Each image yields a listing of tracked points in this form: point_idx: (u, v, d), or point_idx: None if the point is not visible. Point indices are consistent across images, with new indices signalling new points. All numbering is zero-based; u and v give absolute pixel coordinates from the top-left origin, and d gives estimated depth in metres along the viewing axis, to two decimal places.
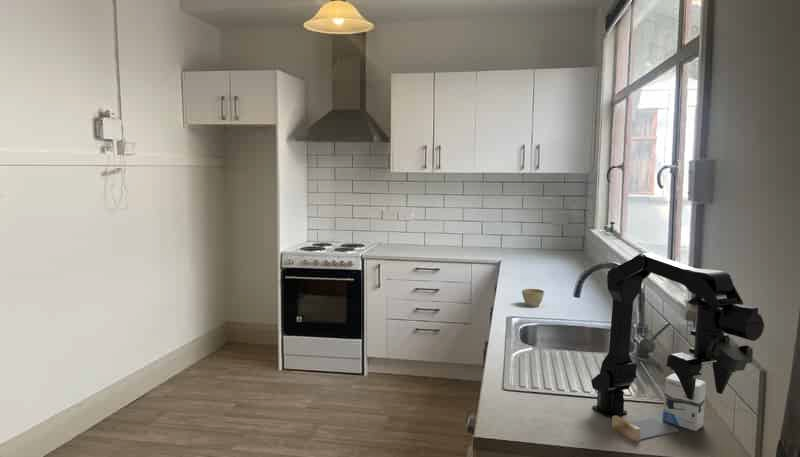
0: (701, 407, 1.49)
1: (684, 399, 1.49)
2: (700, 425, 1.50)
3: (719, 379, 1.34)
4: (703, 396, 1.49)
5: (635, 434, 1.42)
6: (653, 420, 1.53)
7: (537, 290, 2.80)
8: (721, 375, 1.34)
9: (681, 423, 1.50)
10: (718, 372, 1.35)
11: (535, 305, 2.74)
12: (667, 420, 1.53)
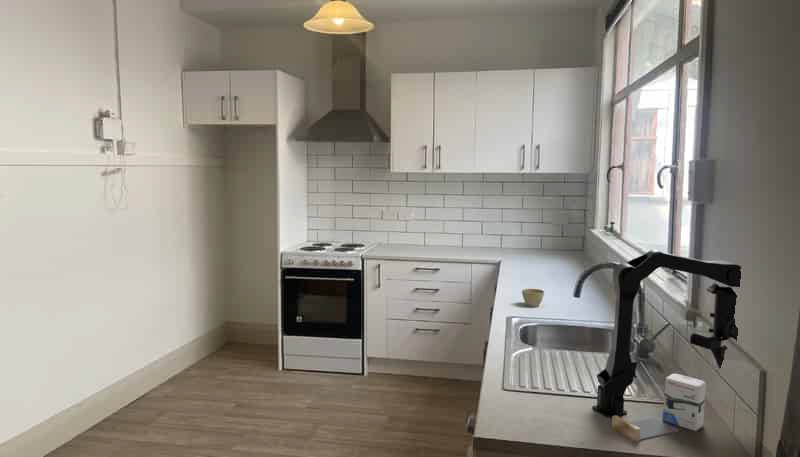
0: (701, 407, 1.49)
1: (684, 399, 1.49)
2: (700, 425, 1.50)
3: None
4: (703, 396, 1.49)
5: (635, 434, 1.42)
6: (653, 420, 1.53)
7: (537, 290, 2.80)
8: None
9: (681, 423, 1.50)
10: None
11: (535, 305, 2.74)
12: (667, 420, 1.53)
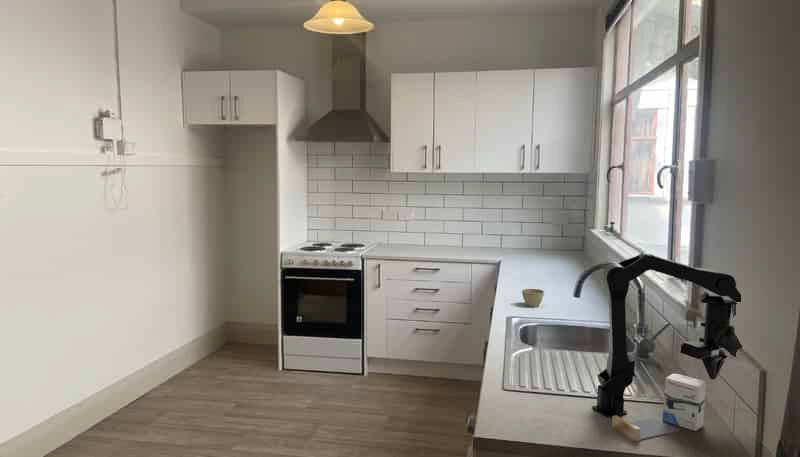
0: (701, 407, 1.49)
1: (684, 399, 1.49)
2: (700, 425, 1.50)
3: None
4: (703, 396, 1.49)
5: (635, 434, 1.42)
6: (653, 420, 1.53)
7: (537, 290, 2.80)
8: None
9: (681, 423, 1.50)
10: None
11: (535, 305, 2.74)
12: (667, 420, 1.53)
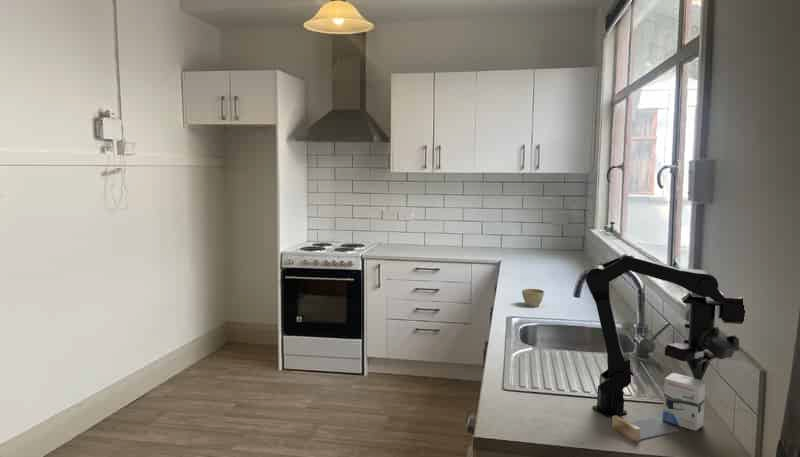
0: (701, 407, 1.49)
1: (683, 399, 1.49)
2: (700, 424, 1.49)
3: None
4: (702, 396, 1.49)
5: (635, 434, 1.42)
6: (653, 420, 1.53)
7: (537, 290, 2.80)
8: None
9: (681, 423, 1.50)
10: None
11: (535, 305, 2.74)
12: (667, 420, 1.53)
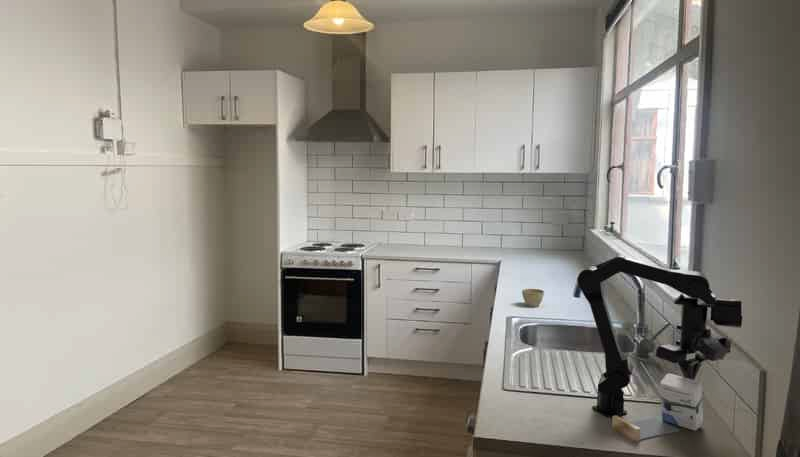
0: (698, 407, 1.47)
1: (680, 403, 1.48)
2: (700, 422, 1.49)
3: None
4: (699, 396, 1.47)
5: (635, 434, 1.42)
6: (653, 420, 1.53)
7: (537, 290, 2.80)
8: None
9: (681, 424, 1.50)
10: None
11: (535, 305, 2.74)
12: (667, 420, 1.53)
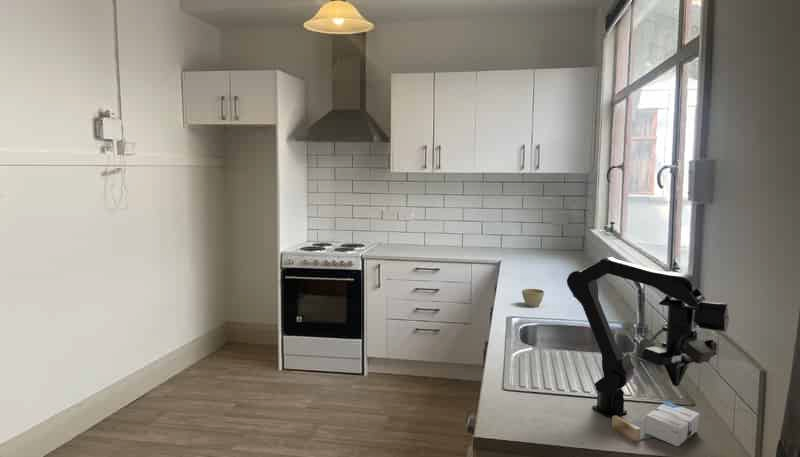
0: (690, 429, 1.43)
1: None
2: (697, 422, 1.46)
3: None
4: (686, 429, 1.41)
5: (635, 434, 1.42)
6: None
7: (537, 290, 2.80)
8: None
9: None
10: None
11: (535, 305, 2.74)
12: None
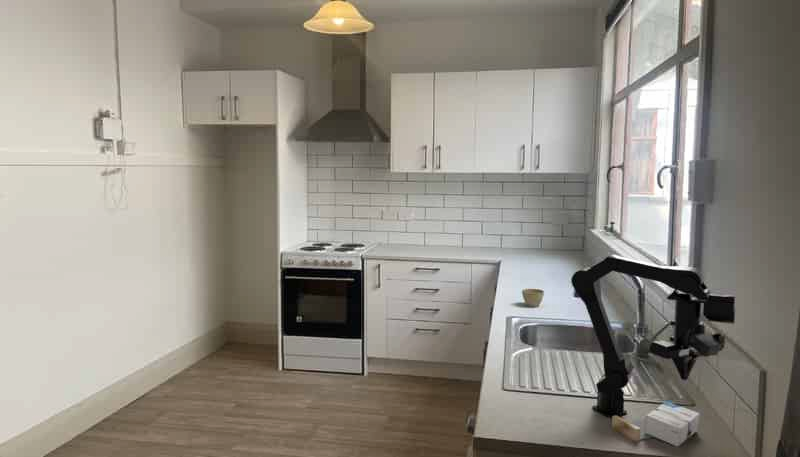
0: (690, 429, 1.43)
1: None
2: (697, 422, 1.46)
3: None
4: (686, 429, 1.41)
5: (635, 434, 1.42)
6: None
7: (537, 290, 2.80)
8: None
9: None
10: None
11: (535, 305, 2.74)
12: None
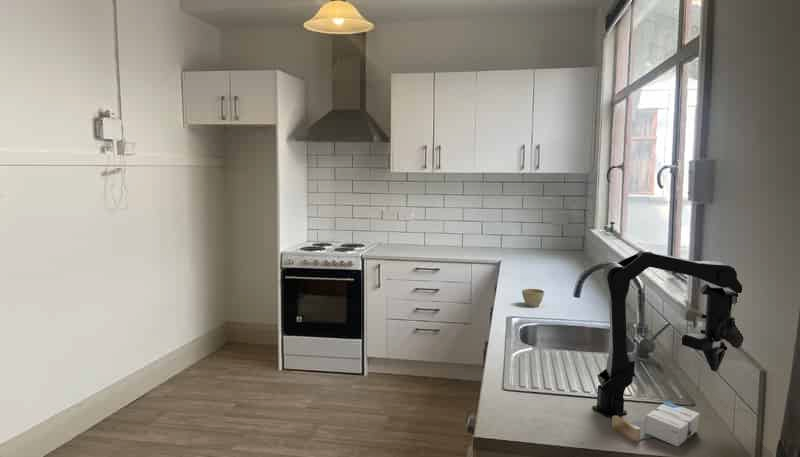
0: (690, 429, 1.43)
1: None
2: (697, 422, 1.46)
3: None
4: (686, 429, 1.41)
5: (635, 434, 1.42)
6: None
7: (537, 290, 2.80)
8: None
9: None
10: None
11: (535, 305, 2.74)
12: None
